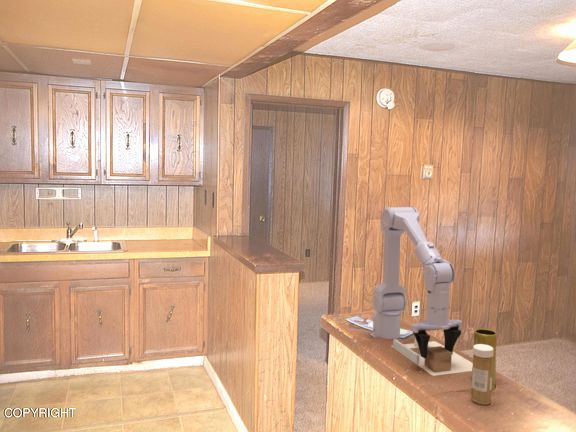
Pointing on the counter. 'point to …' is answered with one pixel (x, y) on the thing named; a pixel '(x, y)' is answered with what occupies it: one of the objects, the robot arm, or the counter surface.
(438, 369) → the walnut block
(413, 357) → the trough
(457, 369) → the board
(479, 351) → the sprinkles bottle
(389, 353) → the counter surface
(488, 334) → the vase
